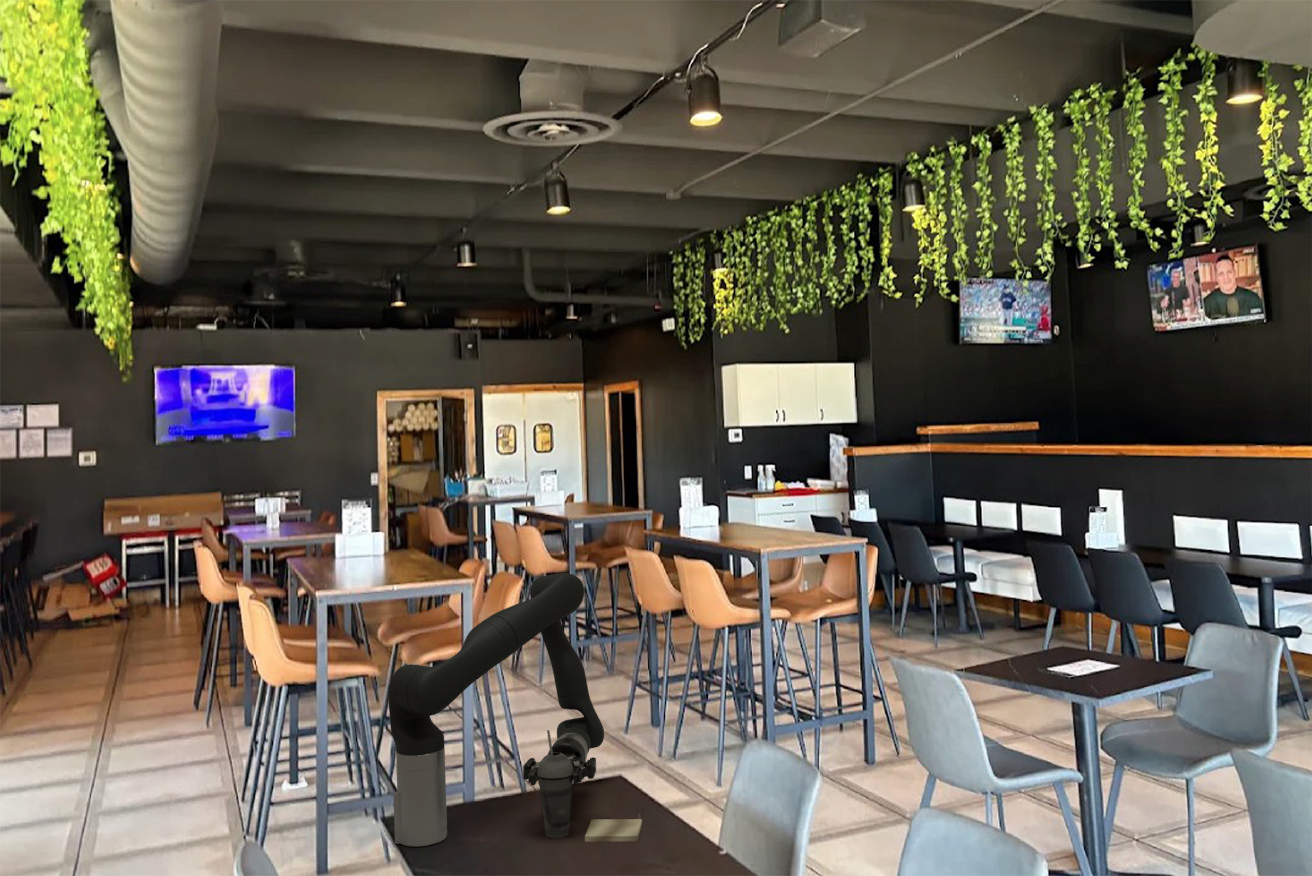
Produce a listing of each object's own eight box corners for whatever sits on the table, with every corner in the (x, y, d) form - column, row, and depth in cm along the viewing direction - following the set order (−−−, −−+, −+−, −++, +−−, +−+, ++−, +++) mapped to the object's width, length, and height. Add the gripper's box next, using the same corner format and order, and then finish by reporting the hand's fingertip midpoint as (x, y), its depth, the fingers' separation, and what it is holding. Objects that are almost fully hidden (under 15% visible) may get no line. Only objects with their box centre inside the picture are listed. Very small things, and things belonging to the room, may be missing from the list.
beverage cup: (570, 842, 193) (566, 735, 194) (533, 840, 195) (530, 735, 195) (580, 828, 200) (577, 725, 201) (545, 826, 202) (541, 725, 202)
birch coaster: (584, 841, 193) (584, 836, 193) (591, 824, 202) (591, 819, 202) (637, 841, 192) (637, 836, 192) (642, 824, 201) (641, 819, 201)
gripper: (533, 737, 213) (516, 760, 196) (601, 736, 211) (589, 760, 195) (534, 773, 212) (517, 800, 196) (602, 773, 211) (591, 799, 195)
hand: (553, 780), depth 196 cm, fingers open, 8 cm apart
